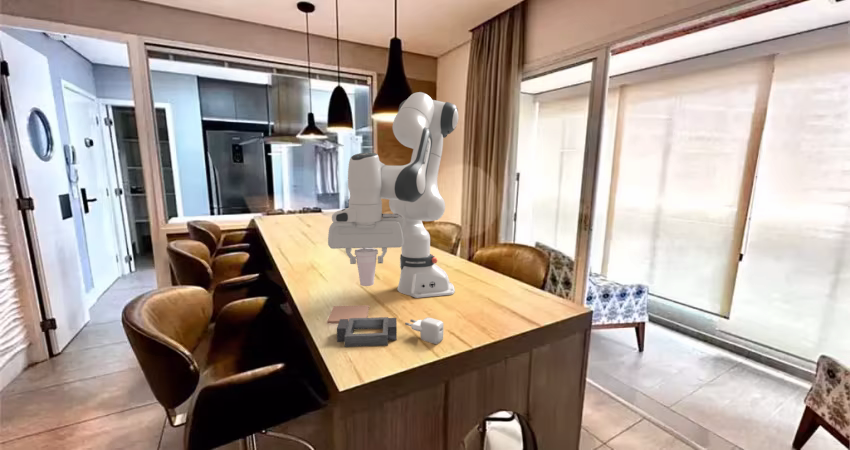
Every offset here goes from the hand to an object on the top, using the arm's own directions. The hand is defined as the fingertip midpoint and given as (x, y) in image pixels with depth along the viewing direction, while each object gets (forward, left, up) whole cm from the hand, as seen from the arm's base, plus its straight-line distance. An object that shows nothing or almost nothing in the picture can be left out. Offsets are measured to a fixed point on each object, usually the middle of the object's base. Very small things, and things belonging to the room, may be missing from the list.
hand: (366, 263), depth 99 cm
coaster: (+7, -15, -22) cm, 27 cm away
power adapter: (-16, +2, -22) cm, 27 cm away
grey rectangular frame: (0, 0, -22) cm, 22 cm away
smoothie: (0, 0, -6) cm, 6 cm away
